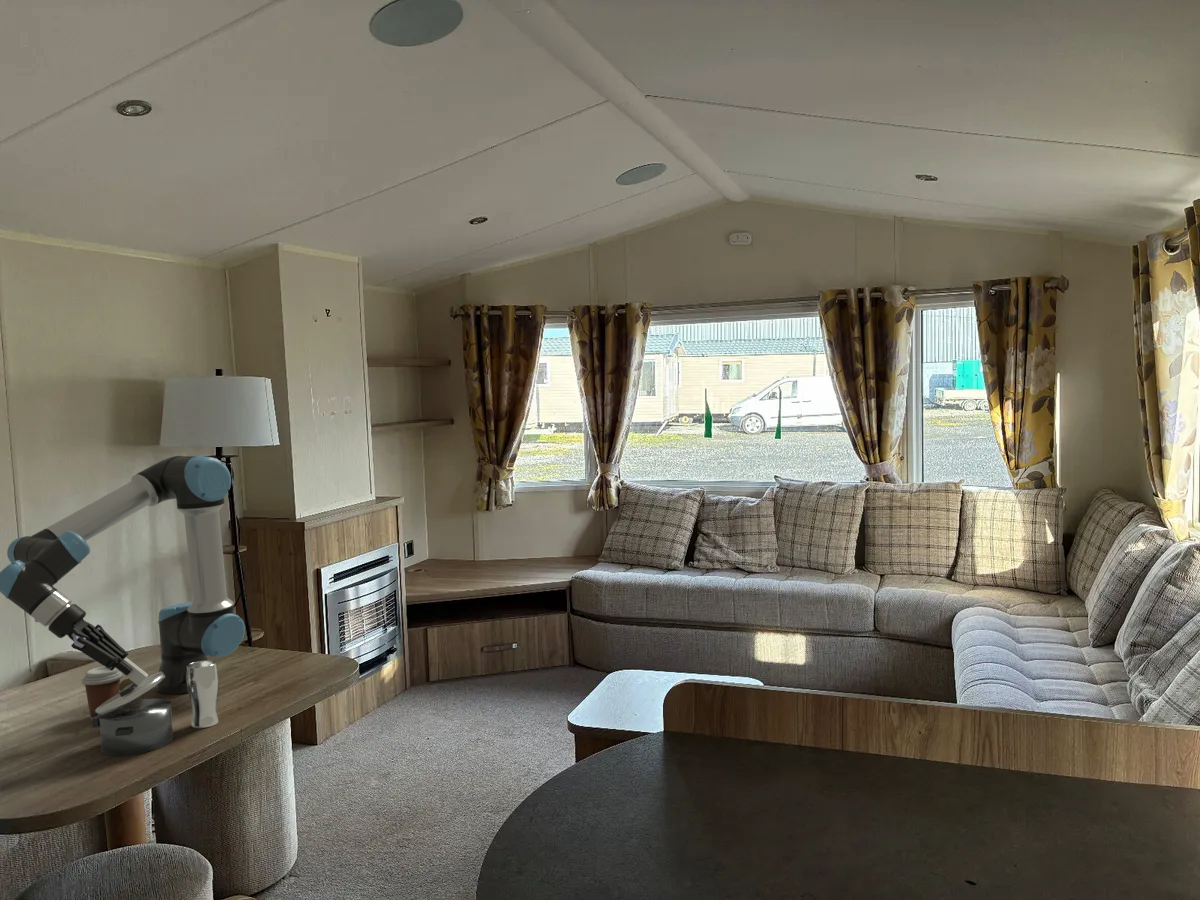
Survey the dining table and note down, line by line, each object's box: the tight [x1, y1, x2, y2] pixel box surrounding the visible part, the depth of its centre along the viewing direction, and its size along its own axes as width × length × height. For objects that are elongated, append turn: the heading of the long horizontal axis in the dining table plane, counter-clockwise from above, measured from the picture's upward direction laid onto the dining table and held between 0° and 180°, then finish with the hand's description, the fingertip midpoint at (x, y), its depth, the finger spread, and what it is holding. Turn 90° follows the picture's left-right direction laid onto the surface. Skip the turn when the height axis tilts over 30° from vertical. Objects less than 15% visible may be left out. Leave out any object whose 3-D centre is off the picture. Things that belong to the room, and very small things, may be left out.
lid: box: [92, 671, 165, 716], centre depth 209 cm, size 16×16×2 cm
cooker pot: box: [91, 698, 174, 757], centre depth 210 cm, size 16×19×8 cm
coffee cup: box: [81, 665, 124, 721], centre depth 229 cm, size 9×9×12 cm
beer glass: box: [187, 659, 219, 729], centre depth 221 cm, size 7×7×15 cm
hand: (143, 680), depth 210 cm, fingers closed
